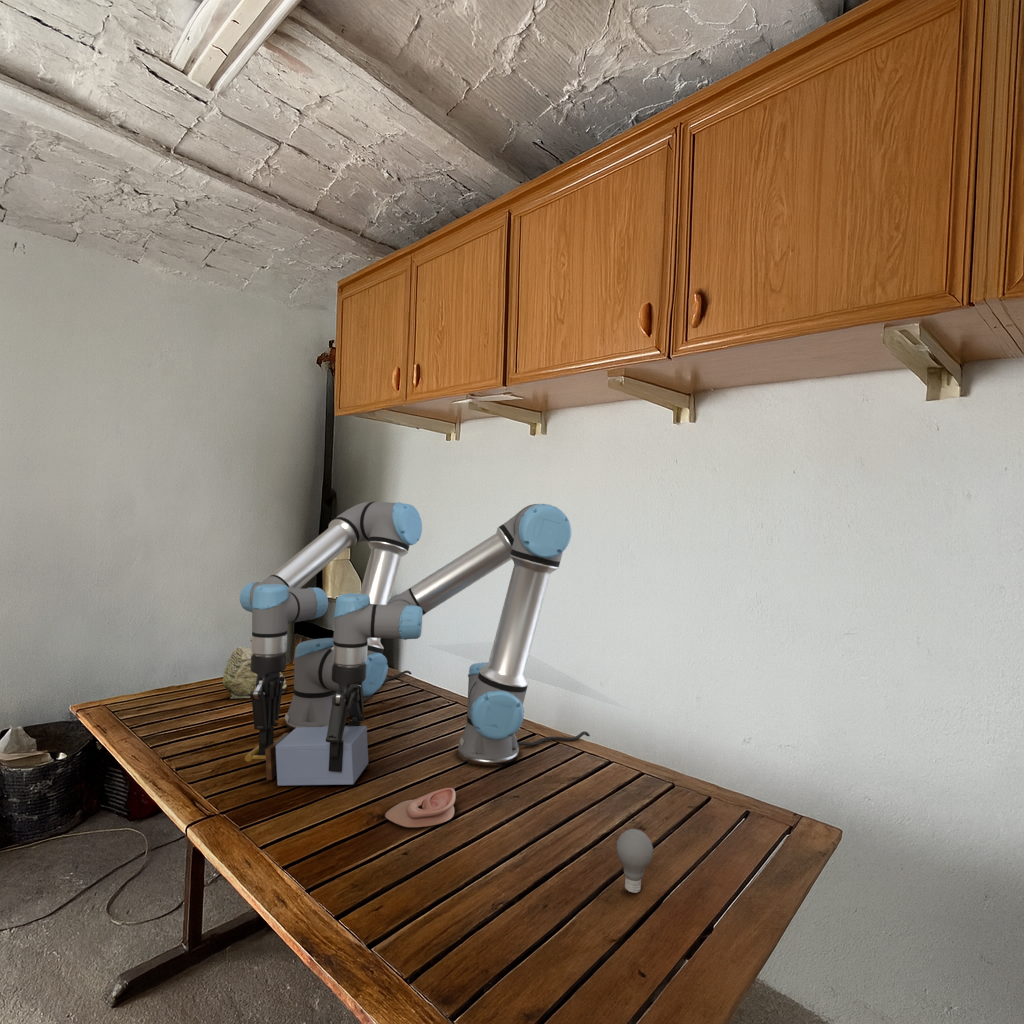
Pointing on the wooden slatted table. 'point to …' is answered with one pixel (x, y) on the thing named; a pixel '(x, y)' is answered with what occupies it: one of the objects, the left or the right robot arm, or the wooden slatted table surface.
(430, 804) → the anatomical model
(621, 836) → the light bulb
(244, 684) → the fossil
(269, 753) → the drawer
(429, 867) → the wooden slatted table surface
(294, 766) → the cabinet
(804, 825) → the wooden slatted table surface
